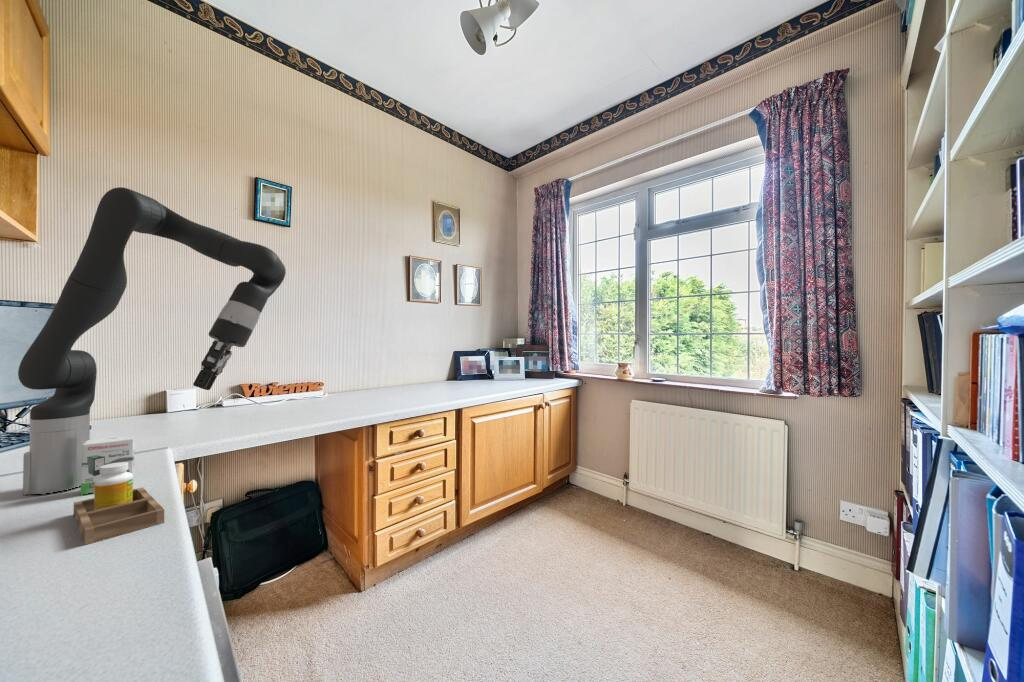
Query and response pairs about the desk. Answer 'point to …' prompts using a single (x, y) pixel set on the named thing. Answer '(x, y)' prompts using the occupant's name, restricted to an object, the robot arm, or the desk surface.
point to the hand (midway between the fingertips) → (201, 388)
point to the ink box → (104, 458)
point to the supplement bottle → (113, 486)
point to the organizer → (117, 517)
